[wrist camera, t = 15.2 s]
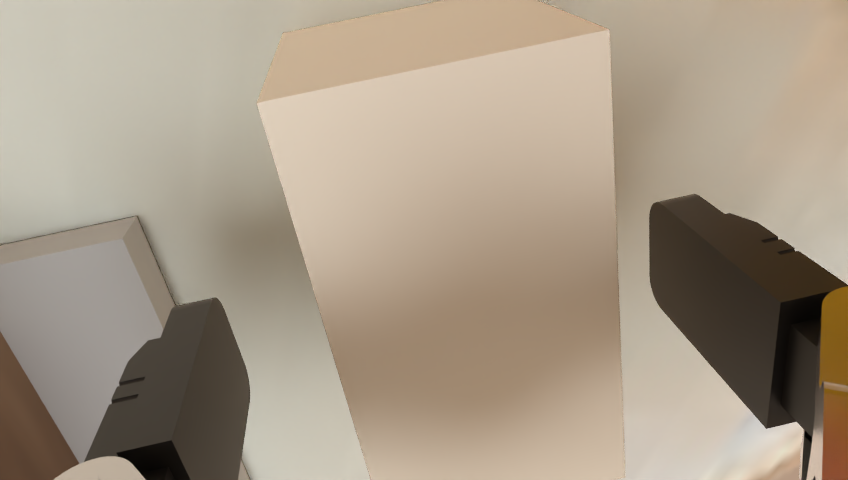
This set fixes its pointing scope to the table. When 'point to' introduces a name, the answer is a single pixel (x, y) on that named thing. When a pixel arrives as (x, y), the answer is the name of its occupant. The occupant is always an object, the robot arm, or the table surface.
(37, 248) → the base plate
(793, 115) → the table surface
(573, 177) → the cream brick
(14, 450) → the walnut brick
